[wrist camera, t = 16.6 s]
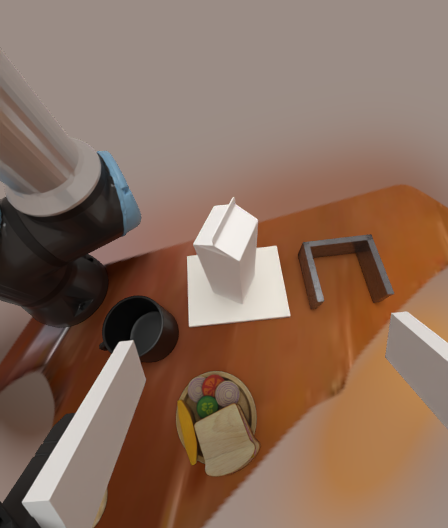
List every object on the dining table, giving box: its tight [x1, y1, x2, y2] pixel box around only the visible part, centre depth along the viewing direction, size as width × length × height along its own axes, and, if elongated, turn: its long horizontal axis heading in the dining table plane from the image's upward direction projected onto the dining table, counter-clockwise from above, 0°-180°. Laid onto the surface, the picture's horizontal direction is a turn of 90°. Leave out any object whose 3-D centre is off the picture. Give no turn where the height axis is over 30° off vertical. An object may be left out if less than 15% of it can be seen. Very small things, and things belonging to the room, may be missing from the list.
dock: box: [298, 234, 394, 309], centre depth 44 cm, size 12×11×5 cm
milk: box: [193, 197, 258, 304], centre depth 36 cm, size 6×6×22 cm
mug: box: [99, 296, 178, 362], centre depth 41 cm, size 9×12×9 cm
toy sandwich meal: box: [176, 371, 260, 477], centre depth 37 cm, size 12×14×5 cm
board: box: [187, 246, 290, 327], centre depth 47 cm, size 18×14×1 cm
